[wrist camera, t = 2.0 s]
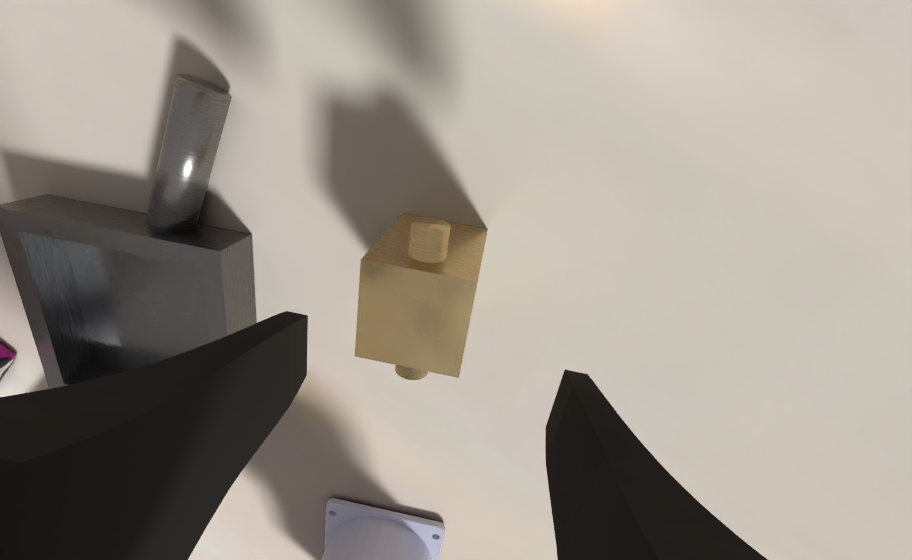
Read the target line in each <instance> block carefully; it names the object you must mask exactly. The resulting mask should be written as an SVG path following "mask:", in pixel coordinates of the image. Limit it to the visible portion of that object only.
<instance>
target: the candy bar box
mask: <svg viewBox="0 0 912 560" xmlns="http://www.w3.org/2000/svg"><path fill="white" fill-rule="evenodd" d="M15 358H16V354H14V353H13V352H12V351H10V350H9V349H7V348H6V347H5V346H3V345H2V344H1V343H0V381H1V379H2V377H3V376H4V375H5V373H6V372H7V371H8V369H9V368H10V367H11V365H12V364H13V362H14V360H15Z"/></svg>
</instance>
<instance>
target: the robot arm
mask: <svg viewBox="0 0 912 560" xmlns="http://www.w3.org/2000/svg"><path fill="white" fill-rule="evenodd" d="M307 323H308V316H307V315H302V314H297V313H293V312H288V311H286V312H283V313H280V314H277V315H275V316H272V317H270V318H268V319H265V320H263V321H261V322H258V323H256V324H254V325H251V326H249V327H247V328H244V329H242V330H240V331H237V332H235V333H232V334H230V335H228V336H225V337H223V338H221V339H218V340H216V341H213V342H210V343H208V344H205V345H202V346H200V347H197V348H195V349H192V350H189V351H187V352H184V353H182V354H179V355H176V356H173V357H170V358H167V359H164V360H161V361H158V362H155V363H152V364H148V365H145V366H142V367H138V368H135V369H132V370H128V371H124V372H121V373H117V374H113V375H108V376H104V377H100V378H96V379H92V380H88V381H84V382H79V383H75V384H71V385H66V386H61V387H56V388H51V389H46V390H41V391H36V392H30V393H24V394H18V395H13V396H7V397H0V560H188V558H189V556H190V555H191V553H192V551H193V549H194V548H195V546H196V544H197V542H198V541H199V539H200V537H201V535H202V534H203V532H204V530H205V528H206V527H207V525H208V523H209V522H210V520H211V518H212V517H213V515H214V513H215V512H216V510H217V508H218V507H219V505H220V503H221V502H222V500H223V498H224V497H225V495H226V493H227V492H228V490H229V489H230V487H231V486H232V484H233V483H234V481H235V480H236V478H237V477H238V475H239V474H240V473H241V471H242V470H243V469H244V467H245V466H246V464H247V463H248V462H249V460H250V459H251V458H252V456H253V455H254V454H255V452H256V451H257V450H258V448H259V447H260V446H261V444H262V443H263V442H264V440H265V439H266V438H267V436H268V435H269V434H270V432H271V431H272V430H273V428H274V427H275V425H276V424H277V423H278V421H279V420H280V419H281V417H282V416H283V415H284V413H285V412H286V410H287V409H288V408H289V406H290V405H291V403H292V401H293V399H294V397H295V396H296V394H297V392H298V390H299V388H300V387H301V385H302V383H303V381H304V379H305V377H306V375H307ZM546 467H547V476H548V484H549V492H550V499H551V507H552V514H553V522H554V530H555V537H556V545H557V555H558V560H767V559H766V558H765V557H763V556H762V555H761V554H759V553H758V552H757V551H756V550H754V549H753V548H752V547H751V546H749V545H748V544H747V543H746V542H744V541H743V540H742V539H741V538H739V537H738V536H737V535H736V534H735V533H733V532H732V531H731V530H730V529H729V528H728V527H726V526H725V525H724V524H723V523H722V522H721V521H719V520H718V519H717V518H716V517H715V516H714V515H712V514H711V513H710V512H709V511H708V510H707V509H706V508H705V507H703V506H702V505H701V504H700V503H699V502H698V501H697V500H696V499H695V498H694V497H693V496H692V495H691V494H690V493H689V492H687V491H686V490H685V489H684V488H683V487H682V486H681V485H680V484H679V483H678V482H677V481H676V480H675V479H674V478H673V477H672V476H671V475H670V474H669V473H668V472H667V471H666V470H665V469H664V468H663V466H662V465H661V464H660V463H659V462H658V461H657V460H656V459H655V458H654V457H653V455H652V454H651V453H650V452H649V451H648V450H647V449H646V448H645V446H644V445H643V444H642V443H641V442H640V441H639V440H638V438H637V437H636V436H635V435H634V434H633V432H632V431H631V430H630V429H629V427H628V426H627V425H626V424H625V422H624V421H623V420H622V419H621V417H620V416H619V415H618V414H617V412H616V411H615V410H614V408H613V407H612V406H611V404H610V403H609V402H608V401H607V399H606V398H605V397H604V395H603V394H602V393H601V391H600V390H599V389H598V387H597V386H596V385H595V383H594V382H593V381H592V379H591V378H590V377H589V376H588V374H583V373H578V372H574V371H569V370H565V371H564V374H563V377H562V380H561V383H560V386H559V389H558V392H557V395H556V398H555V401H554V404H553V407H552V410H551V413H550V416H549V419H548V422H547V425H546ZM444 532H445V526H444V524H442V523H441V522H438V521H433V520H429V519H424V518H420V517H416V516H411V515H407V514H402V513H398V512H393V511H389V510H384V509H380V508H376V507H371V506H367V505H362V504H358V503H353V502H349V501H344V500H340V499H336V498H332V499H329V500H328V502H327V504H326V513H325V542H324V554H323V556H322V559H321V560H439V555H440V551H441V546H442V542H443V537H444Z"/></svg>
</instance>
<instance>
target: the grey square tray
mask: <svg viewBox="0 0 912 560" xmlns="http://www.w3.org/2000/svg"><path fill="white" fill-rule="evenodd" d="M146 217H147V214H144V213H139V212H134V211H129V210H124V209H119V208H113V207H108V206H103V205H98V204H93V203H88V202H82V201H77V200H72V199H67V198H62V197H57V196H51V195H42V196H38V197H33V198H29V199H24V200H20V201H15V202H11V203H6V204H1V205H0V233H1V236H2V239H3V243H4V246H5V249H6V252H7V255H8V258H9V261H10V265H11V268H12V271H13V274H14V277H15V280H16V284H17V287H18V290H19V293H20V296H21V299H22V303H23V306H24V309H25V312H26V315H27V318H28V322H29V325H30V328H31V331H32V334H33V337H34V340H35V344H36V347H37V350H38V353H39V356H40V359H41V363H42V366H43V369H44V372H45V375H46V378H47V382H48V385H49V388H50V389H51V388H56V387H61V386H66V385H71V384H75V383H79V382H84V381H88V380H92V379H96V378H100V377H104V376H108V375H113V374H117V373H121V372H124V371H128V370H132V369H135V368H138V367H142V366H145V365H148V364H152V363H155V362H158V361H161V360H164V359H167V358H170V357H173V356H176V355H179V354H182V353H184V352H187V351H189V350H192V349H195V348H197V347H200V346H202V345H205V344H208V343H210V342H213V341H216V340H218V339H221V338H223V337H225V336H228V335H230V334H232V333H235V332H237V331H240V330H242V329H244V328H247V327H249V326H251V325H254V324H256V305H255V286H254V267H253V248H252V234H247V233H242V232H237V231H232V230H227V229H222V228H217V227H211V226H206V225H201V224H197V226H196V229H195V230H193V231H191V232H188V233H184V234H176V235H163V234H155V233H153V232H152V231H150V230H149V229H148V228H147V226H146V224H145V221H146Z"/></svg>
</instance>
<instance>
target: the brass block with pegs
mask: <svg viewBox="0 0 912 560" xmlns="http://www.w3.org/2000/svg"><path fill="white" fill-rule="evenodd" d="M487 230H488V229H484V228H479V227H473V226H468V225H463V224H457V223H452V222H447V221H442V220H439V219H434V218H425V217H420V216H414V215H409V214H404V213H403V214H402V215H401V216H400V218H399V219H398V220H397V221H396V222H395V223H394V224H393V225H392V226H391V227H390V228H389V229H388V231H387V232H386V233H385V234H384V235H383V236H382V237H381V238H380V239H379V240H378V241H377V242H376V244H375V245H374V246H373V247H372V248H371V249H370V250H369V251H368V252H367V253H366V254H365V255H364V257H363V258H362V259H361V268H360V283H359V299H358V315H357V330H356V346H355V356H356V357H361V358H366V359H371V360H375V361H380V362H385V363H390V364H395V371H396V373H397V374H398V375H399V376H401V377H403V378H405V379H409V380H418V379H421V378H424V377H425V376H426V375H427V374H428V371H429V372H434V373H438V374H443V375H448V376H453V377H458V378H459V374H460V369H461V364H462V358H463V353H464V348H465V343H466V338H467V333H468V328H469V323H470V318H471V313H472V308H473V303H474V297H475V292H476V287H477V282H478V277H479V272H480V267H481V261H482V256H483V251H484V246H485V241H486V236H487Z"/></svg>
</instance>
